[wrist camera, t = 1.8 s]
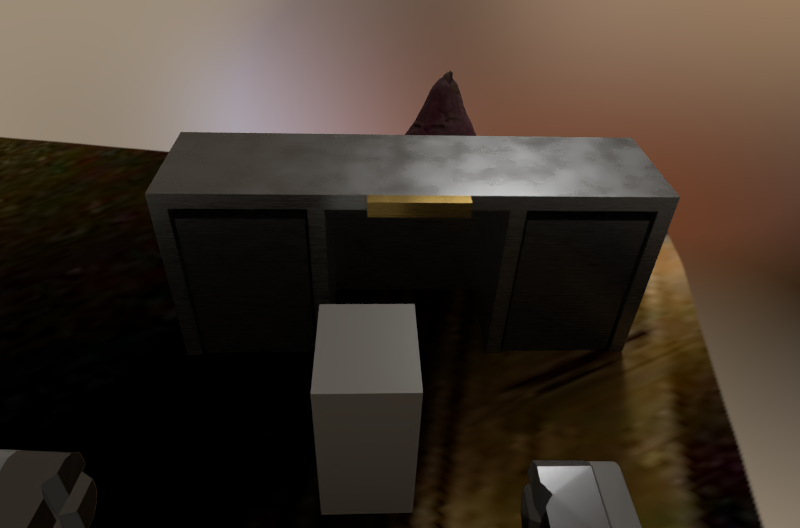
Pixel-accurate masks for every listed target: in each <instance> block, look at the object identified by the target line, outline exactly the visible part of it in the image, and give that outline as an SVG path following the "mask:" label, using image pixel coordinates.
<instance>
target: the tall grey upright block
mask: <svg viewBox="0 0 800 528" xmlns="http://www.w3.org/2000/svg"><path fill="white" fill-rule="evenodd" d="M422 399H423V387H422V376H421V366H420V355H419V345H418V334H417V324H416V313H415V304H319V313H318V324H317V334H316V344H315V354H314V364H313V374H312V385H311V405H312V416H313V427H314V439H315V450H316V461H317V472H318V484H319V495H320V506H321V515H329V514H373V513H413V502H414V490H415V479H416V467H417V456H418V445H419V433H420V422H421V411H422Z"/></svg>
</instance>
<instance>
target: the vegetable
mask: <svg viewBox="0 0 800 528" xmlns="http://www.w3.org/2000/svg"><path fill="white" fill-rule="evenodd" d="M452 74H453V73H452V72H451V71H449V72H447V73H446V74H445V75H444V76H443V77H442V78H440V79H439V80H438V81H437V82H436V83H435V85H434V86H433V87H432V89H431V90H430V93H429V95H428V97H427V99H426V101H425V103H424V105H423V107H422V109H421V111H420V113H419V115H418V116H417V118H416V120H415V122H414V123H413V125H412V126H411V127H410V128H409V130H408V131H407V133H406V134H405V135H438V136H476V134H475V132H474V129H473V126H472V124H471V121H470V119H469V118H468V115H467V114H466V111H465V108H464V106H463V101H462V98H461V94H460V91H459V88H458V85H457V83H456V82H455V81H454V80H453V79H452Z"/></svg>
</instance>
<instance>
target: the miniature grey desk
mask: <svg viewBox="0 0 800 528" xmlns="http://www.w3.org/2000/svg"><path fill="white" fill-rule="evenodd" d="M145 195H146V199H147V202H148V206H149V210H150V214H151V218H152V221H153V225H154V229H155V233H156V236H157V240H158V244H159V248H160V252H161V255H162V259H163V263H164V267H165V270H166V274H167V278H168V282H169V285H170V289H171V293H172V297H173V301H174V304H175V308H176V312H177V316H178V319H179V323H180V327H181V331H182V335H183V338H184V342H185V346H186V350H187V353H188V355H203V351H204V348H205V351H206V353H218V352H315V344H316V334H317V324H318V313H319V304H335V299H336V290H472V291H473V296H474V300H475V305H476V310H477V314H478V319H479V323H480V328H481V332H482V337H483V342H484V346H485V351H486V352H500V348H501V349H502V350H605V348H606V347H607V349H608V351H609V352H614V351H622V350H623V348H624V345H625V342H626V340H627V337H628V334H629V332H630V329H631V326H632V324H633V321H634V318H635V316H636V313H637V310H638V308H639V305H640V302H641V300H642V297H643V294H644V292H645V289H646V286H647V284H648V281H649V278H650V276H651V273H652V270H653V268H654V265H655V262H656V260H657V257H658V255H659V252H660V249H661V247H662V244H663V241H664V239H665V236H666V233H667V231H668V228H669V225H670V223H671V220H672V217H673V215H674V212H675V209H676V206H677V204H678V201H679V199H680V197H679V195H678V194H677V193H676V192H675V191H674V189H673V188H672V187H671V186H670V184H669V183H668V182H667V181H666V179H665V178H664V177H663V176H662V174H661V173H660V172H659V171H658V170H657V168H656V167H655V166H654V165H653V164H652V162H651V161H650V160H649V158H648V157H647V156H646V155H645V153H644V152H643V151H642V150H641V149H640V147H639V146H638V145H637V144H636V142H635V141H634V140H633V139H632V138H595V137H593V138H592V137H591V138H590V137H515V136H511V137H510V136H438V135H360V134H359V135H358V134H281V133H278V134H277V133H273V134H272V133H202V132H201V133H199V132H198V133H197V132H181V133H180V135H179V137H178V138H177V140H176V142H175V143H174V145H173V147H172V148H171V150H170V152H169V153H168V155H167V157H166V159H165V160H164V162H163V164H162V165H161V167H160V169H159V171H158V172H157V174H156V176H155V177H154V179H153V181H152V183H151V184H150V186H149V188H148V189H147V191H146V193H145Z"/></svg>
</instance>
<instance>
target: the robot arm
mask: <svg viewBox="0 0 800 528" xmlns="http://www.w3.org/2000/svg"><path fill="white" fill-rule="evenodd" d="M84 466H85V462H84V460H83V458H82V456H81V454H80V453H79V452H52V451H22V450H0V528H89V526H90V523H91V521H92V519H93V516H94V512H95V507H96V502H97V493H96V486H95V484H94V481H93V479H92V478H90V477H89V476H87V475H86V474H84V473H83V472H82V470H83V468H84ZM528 477H529V482H530V483H528V484H527V485H526V486H524V488H523V493H522V498H521V518H522V527H523V528H642V527H641V524H640V521H639V519H638V516H637V513H636V510H635V507H634V505H633V502H632V499H631V496H630V494H629V491H628V488H627V485H626V482H625V480H624V477H623V474H622V471H621V469H620V467H619V466H618V464H617V463H616V462H613V461H585V460H533V461H532V462H531V463H530V465H529V468H528Z"/></svg>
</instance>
